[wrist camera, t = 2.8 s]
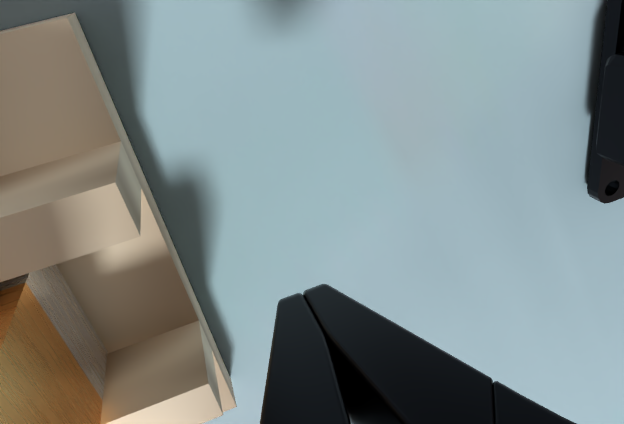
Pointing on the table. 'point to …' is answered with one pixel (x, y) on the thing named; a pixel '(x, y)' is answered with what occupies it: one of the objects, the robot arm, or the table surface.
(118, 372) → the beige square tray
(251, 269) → the table surface
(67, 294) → the lock bolt
